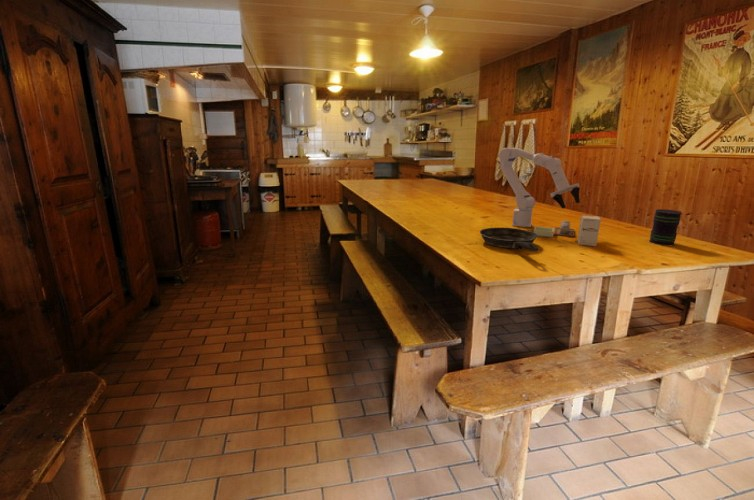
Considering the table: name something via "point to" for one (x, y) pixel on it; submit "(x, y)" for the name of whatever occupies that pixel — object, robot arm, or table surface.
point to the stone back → (565, 222)
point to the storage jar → (665, 227)
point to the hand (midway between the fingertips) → (571, 205)
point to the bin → (544, 231)
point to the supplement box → (588, 230)
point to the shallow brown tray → (571, 234)
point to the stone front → (564, 229)
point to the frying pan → (509, 238)
